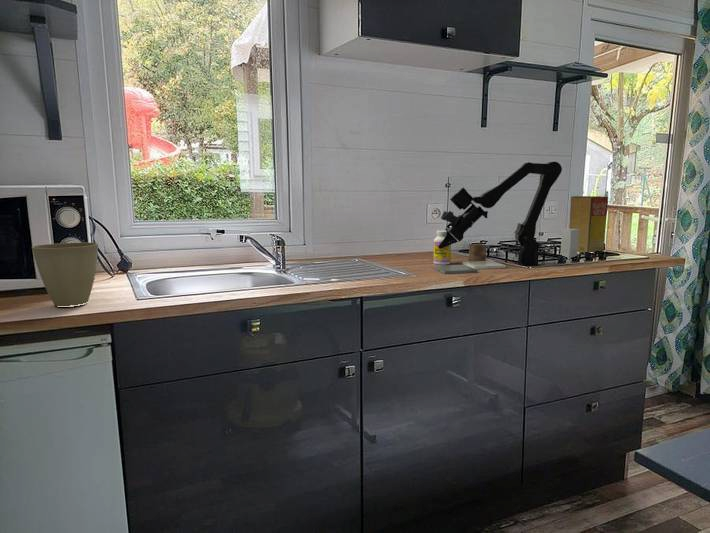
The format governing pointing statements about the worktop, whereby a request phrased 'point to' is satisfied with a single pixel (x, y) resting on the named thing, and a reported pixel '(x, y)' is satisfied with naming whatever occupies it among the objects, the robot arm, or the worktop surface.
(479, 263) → the off-white tile
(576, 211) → the food packaging
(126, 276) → the worktop surface
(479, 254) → the walnut block
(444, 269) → the slate tile
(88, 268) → the plant pot
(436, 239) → the supplement bottle
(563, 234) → the skincare box
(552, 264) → the worktop surface
